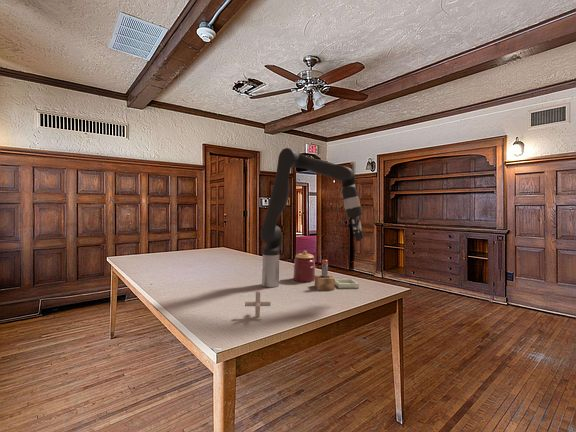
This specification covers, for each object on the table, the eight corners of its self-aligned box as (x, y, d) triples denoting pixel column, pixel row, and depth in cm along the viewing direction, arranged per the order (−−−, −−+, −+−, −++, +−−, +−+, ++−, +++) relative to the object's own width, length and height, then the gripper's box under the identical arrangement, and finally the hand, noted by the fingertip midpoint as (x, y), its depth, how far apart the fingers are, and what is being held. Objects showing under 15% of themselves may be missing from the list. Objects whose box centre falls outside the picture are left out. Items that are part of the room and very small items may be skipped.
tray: (339, 288, 164) (339, 284, 164) (333, 283, 175) (333, 279, 175) (358, 288, 165) (358, 283, 165) (352, 283, 176) (352, 278, 176)
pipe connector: (245, 312, 125) (246, 288, 125) (269, 312, 126) (270, 288, 125) (244, 321, 115) (244, 295, 115) (270, 321, 116) (271, 295, 116)
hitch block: (318, 290, 160) (318, 278, 160) (314, 285, 169) (314, 274, 169) (334, 289, 162) (334, 278, 161) (330, 285, 171) (330, 274, 170)
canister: (308, 283, 173) (309, 252, 173) (289, 280, 180) (289, 250, 180) (318, 279, 184) (319, 250, 184) (300, 276, 191) (301, 248, 191)
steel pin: (322, 288, 164) (322, 260, 163) (320, 286, 167) (321, 259, 166) (327, 288, 164) (328, 260, 164) (326, 286, 167) (327, 259, 167)
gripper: (347, 208, 156) (354, 239, 155) (342, 208, 143) (349, 242, 142) (362, 205, 153) (369, 237, 152) (358, 205, 140) (365, 240, 139)
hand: (359, 239), depth 147 cm, fingers open, 8 cm apart
